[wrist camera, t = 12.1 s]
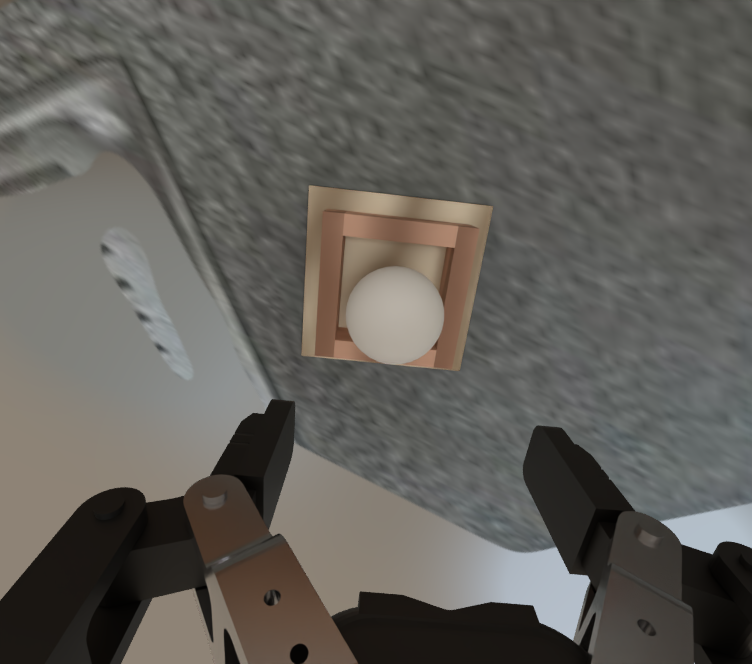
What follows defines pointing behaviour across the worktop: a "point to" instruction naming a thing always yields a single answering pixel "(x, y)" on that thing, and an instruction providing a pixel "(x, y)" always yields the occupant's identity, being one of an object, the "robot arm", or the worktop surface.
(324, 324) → the socket stand
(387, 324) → the lightbulb
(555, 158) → the worktop surface
